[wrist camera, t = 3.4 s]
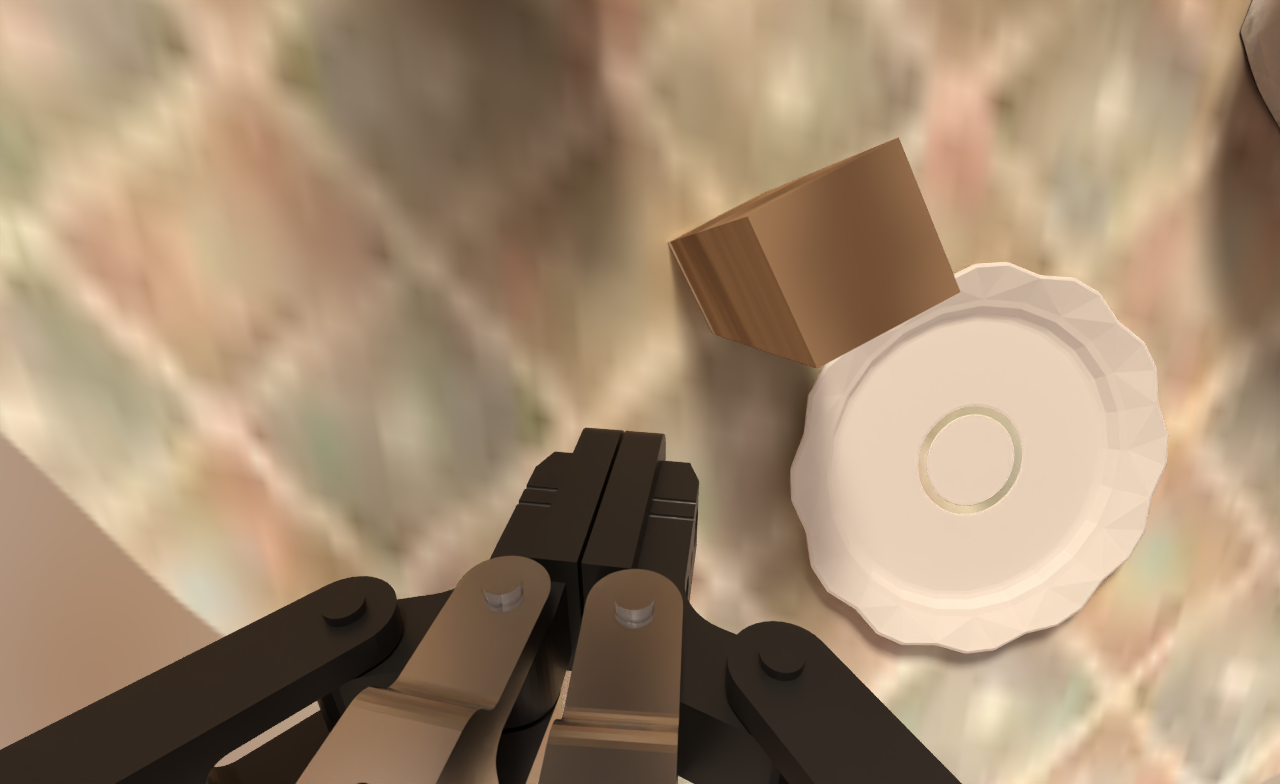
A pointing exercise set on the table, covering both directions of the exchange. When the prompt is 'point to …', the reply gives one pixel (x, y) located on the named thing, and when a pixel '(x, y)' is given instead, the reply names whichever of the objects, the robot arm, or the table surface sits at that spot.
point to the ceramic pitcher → (1264, 50)
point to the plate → (981, 461)
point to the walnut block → (820, 260)
